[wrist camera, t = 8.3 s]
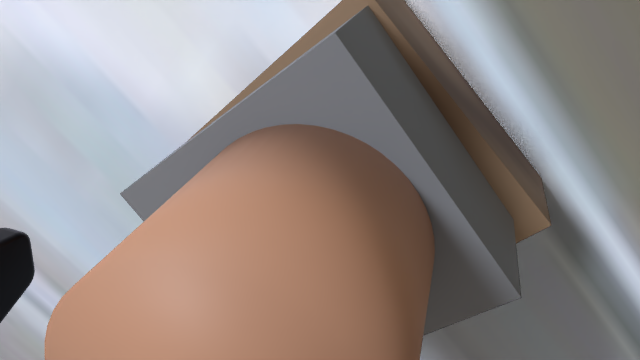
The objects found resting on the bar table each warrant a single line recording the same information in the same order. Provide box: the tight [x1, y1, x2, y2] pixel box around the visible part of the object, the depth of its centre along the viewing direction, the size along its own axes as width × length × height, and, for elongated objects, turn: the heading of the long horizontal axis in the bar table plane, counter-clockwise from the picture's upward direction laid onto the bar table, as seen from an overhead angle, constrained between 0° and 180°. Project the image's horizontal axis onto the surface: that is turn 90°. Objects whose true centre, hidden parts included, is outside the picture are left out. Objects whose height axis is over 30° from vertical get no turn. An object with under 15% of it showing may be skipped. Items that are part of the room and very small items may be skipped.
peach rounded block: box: [45, 124, 435, 360], centre depth 9 cm, size 5×5×4 cm
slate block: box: [120, 6, 521, 335], centre depth 12 cm, size 6×6×3 cm
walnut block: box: [189, 0, 551, 243], centre depth 15 cm, size 7×7×3 cm
